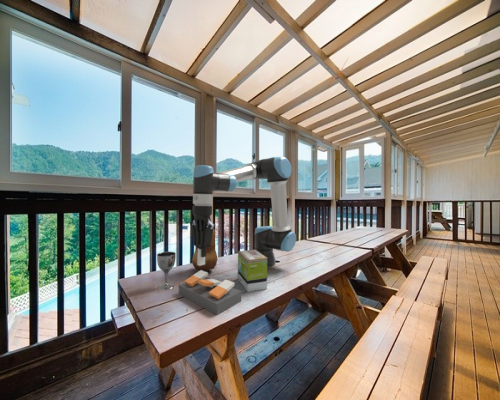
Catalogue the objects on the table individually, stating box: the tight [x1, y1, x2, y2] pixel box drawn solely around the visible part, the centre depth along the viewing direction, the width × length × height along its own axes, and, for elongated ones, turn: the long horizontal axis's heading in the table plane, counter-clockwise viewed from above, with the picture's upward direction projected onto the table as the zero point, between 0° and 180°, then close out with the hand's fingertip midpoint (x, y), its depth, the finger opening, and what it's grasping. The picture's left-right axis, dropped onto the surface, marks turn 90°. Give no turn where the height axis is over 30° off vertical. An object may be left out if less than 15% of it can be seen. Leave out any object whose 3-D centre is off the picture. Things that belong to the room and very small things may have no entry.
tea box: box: [237, 249, 268, 293], centre depth 100 cm, size 15×10×15 cm, turn 21°
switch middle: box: [197, 278, 222, 287], centre depth 86 cm, size 9×5×2 cm, turn 142°
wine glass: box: [156, 251, 176, 291], centre depth 95 cm, size 8×8×15 cm
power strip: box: [178, 276, 242, 316], centre depth 89 cm, size 22×24×4 cm
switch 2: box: [209, 279, 236, 299], centre depth 80 cm, size 9×5×2 cm, turn 141°
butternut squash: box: [191, 228, 218, 272], centre depth 115 cm, size 14×13×25 cm
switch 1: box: [183, 270, 209, 286], centre depth 90 cm, size 9×5×2 cm, turn 141°
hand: (201, 264), depth 82 cm, fingers closed
